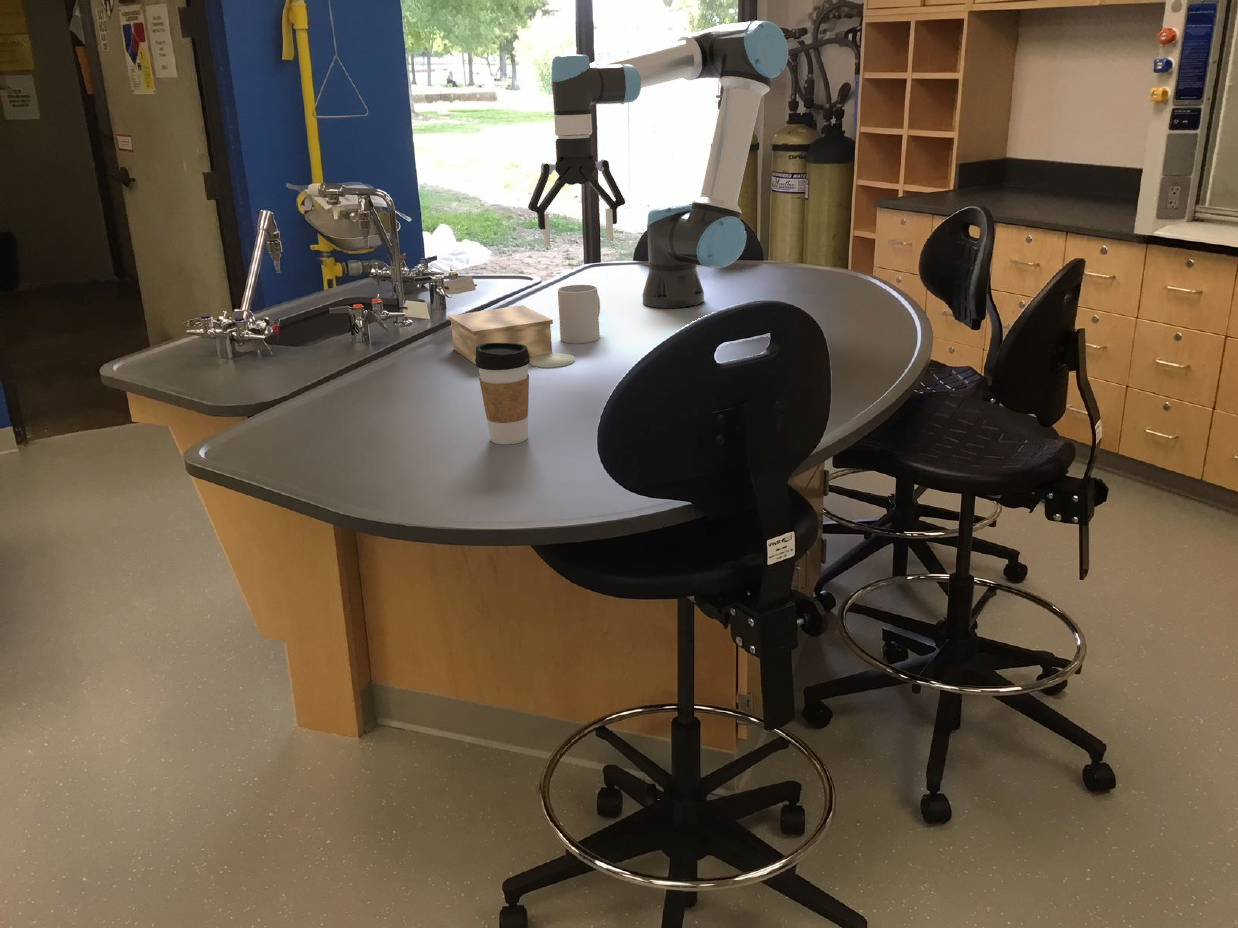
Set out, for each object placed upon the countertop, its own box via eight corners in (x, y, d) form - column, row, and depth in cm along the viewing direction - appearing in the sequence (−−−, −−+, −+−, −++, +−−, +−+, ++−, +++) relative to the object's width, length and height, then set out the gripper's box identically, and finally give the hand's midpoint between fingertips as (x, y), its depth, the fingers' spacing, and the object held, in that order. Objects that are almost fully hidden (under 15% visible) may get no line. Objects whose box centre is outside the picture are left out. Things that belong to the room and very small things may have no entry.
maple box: (525, 337, 221) (523, 305, 219) (555, 354, 207) (553, 319, 204) (451, 349, 215) (448, 315, 212) (476, 367, 200) (473, 331, 198)
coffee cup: (483, 431, 164) (475, 341, 158) (535, 428, 164) (529, 337, 159) (481, 449, 156) (472, 354, 150) (536, 445, 156) (529, 351, 151)
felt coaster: (568, 353, 207) (568, 351, 207) (579, 364, 199) (579, 362, 199) (525, 358, 205) (525, 356, 205) (534, 369, 197) (534, 367, 197)
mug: (586, 345, 213) (583, 293, 209) (552, 341, 217) (549, 290, 213) (615, 332, 223) (613, 283, 219) (583, 329, 227) (580, 280, 223)
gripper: (627, 133, 211) (630, 236, 219) (509, 139, 205) (517, 244, 213) (638, 134, 205) (640, 240, 212) (516, 141, 198) (523, 249, 206)
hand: (578, 243), depth 213 cm, fingers open, 13 cm apart
